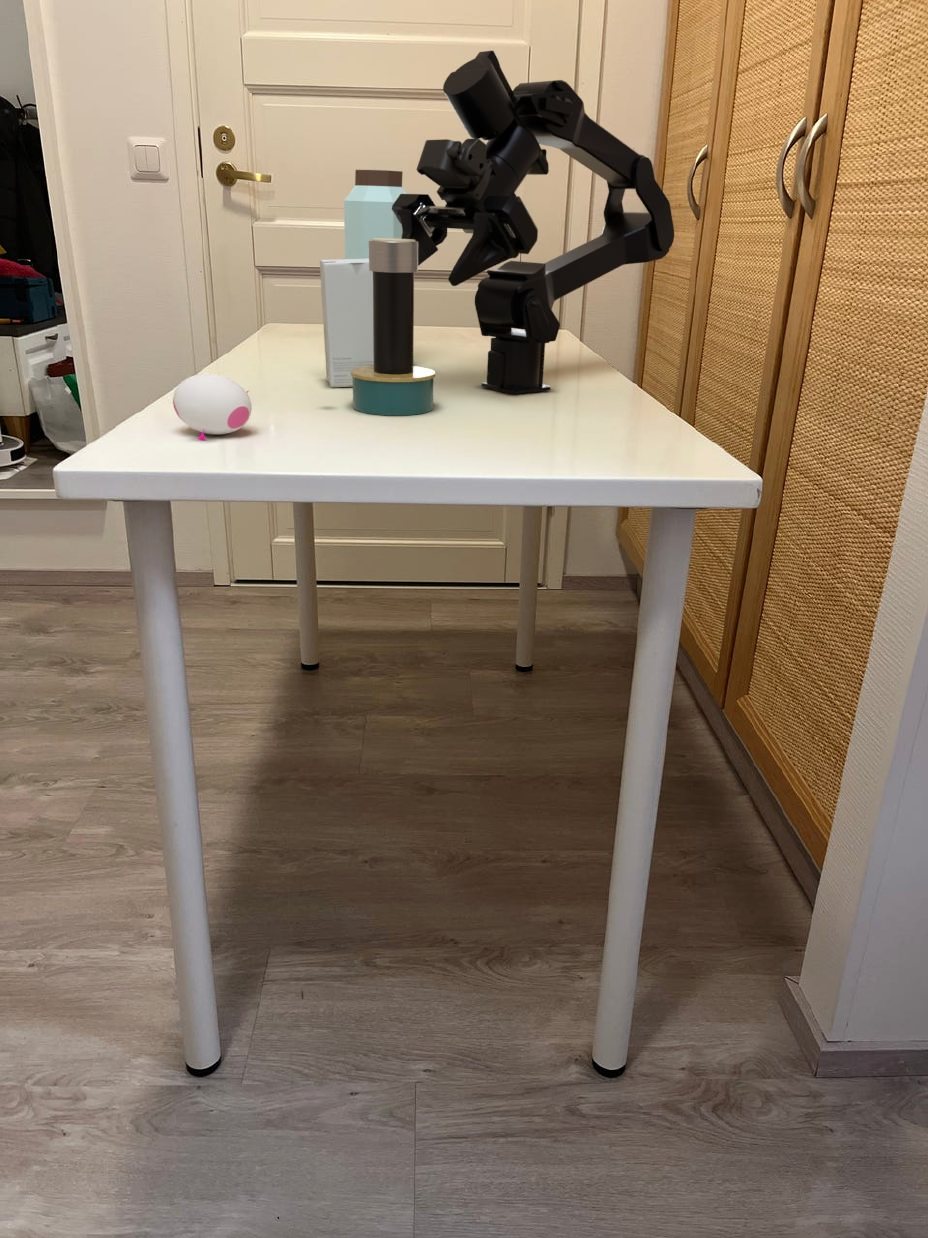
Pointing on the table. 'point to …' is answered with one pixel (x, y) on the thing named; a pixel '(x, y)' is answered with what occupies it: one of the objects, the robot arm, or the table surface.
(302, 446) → the table surface
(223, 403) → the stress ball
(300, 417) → the table surface
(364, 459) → the table surface
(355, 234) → the water bottle
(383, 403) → the tin
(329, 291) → the cosmetic box
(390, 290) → the torch
